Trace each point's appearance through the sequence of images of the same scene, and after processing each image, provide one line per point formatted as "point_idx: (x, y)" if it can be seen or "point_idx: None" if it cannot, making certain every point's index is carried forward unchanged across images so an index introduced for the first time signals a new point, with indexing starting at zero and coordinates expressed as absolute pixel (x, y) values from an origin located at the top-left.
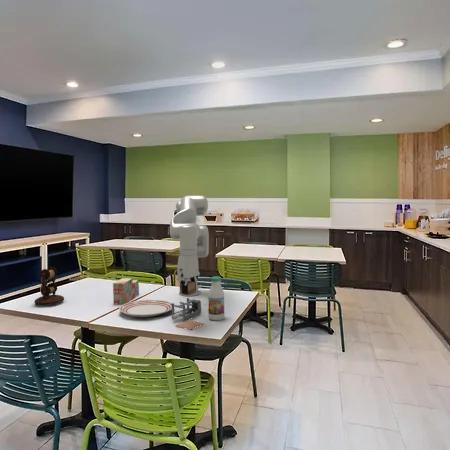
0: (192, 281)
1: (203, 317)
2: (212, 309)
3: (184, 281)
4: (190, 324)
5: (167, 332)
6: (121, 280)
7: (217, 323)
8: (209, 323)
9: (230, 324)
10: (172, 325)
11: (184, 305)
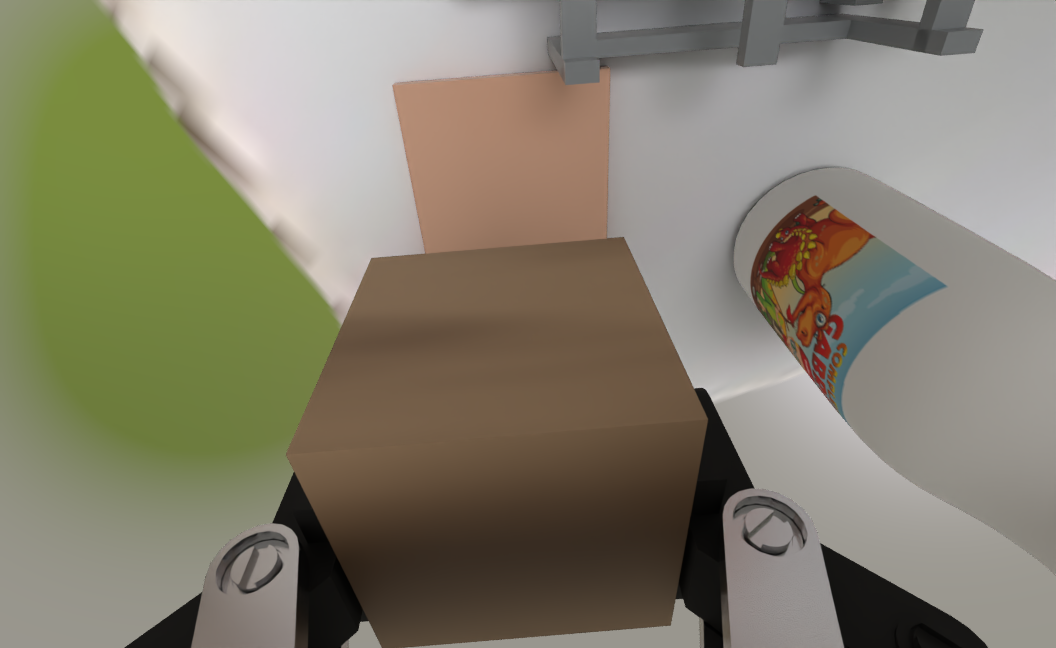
0: (691, 572)
1: (776, 122)
2: (772, 307)
3: (550, 441)
4: (505, 199)
5: (238, 151)
6: None
7: (684, 322)
8: (651, 277)
9: (710, 394)
10: (386, 30)
11: (598, 66)
